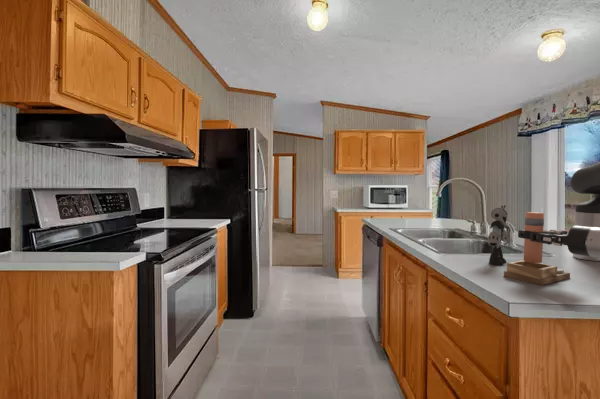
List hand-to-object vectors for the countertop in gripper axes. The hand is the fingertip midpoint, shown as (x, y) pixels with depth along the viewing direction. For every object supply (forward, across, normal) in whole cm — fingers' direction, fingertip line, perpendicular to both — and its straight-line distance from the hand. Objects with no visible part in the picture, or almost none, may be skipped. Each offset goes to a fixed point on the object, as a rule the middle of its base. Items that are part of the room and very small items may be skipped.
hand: (523, 233), depth 102 cm
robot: (+13, -10, +13) cm, 21 cm away
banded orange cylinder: (-3, 0, +8) cm, 8 cm away
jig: (-3, -3, +13) cm, 13 cm away
